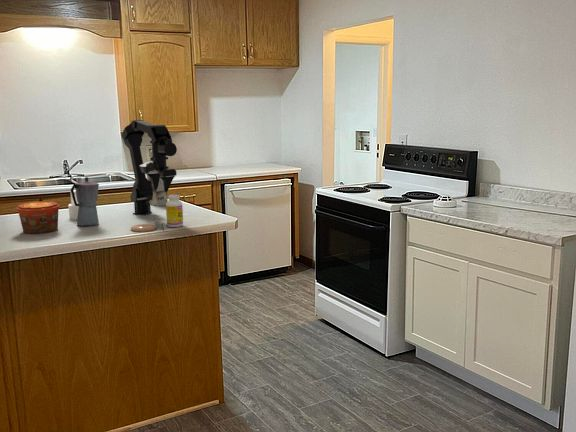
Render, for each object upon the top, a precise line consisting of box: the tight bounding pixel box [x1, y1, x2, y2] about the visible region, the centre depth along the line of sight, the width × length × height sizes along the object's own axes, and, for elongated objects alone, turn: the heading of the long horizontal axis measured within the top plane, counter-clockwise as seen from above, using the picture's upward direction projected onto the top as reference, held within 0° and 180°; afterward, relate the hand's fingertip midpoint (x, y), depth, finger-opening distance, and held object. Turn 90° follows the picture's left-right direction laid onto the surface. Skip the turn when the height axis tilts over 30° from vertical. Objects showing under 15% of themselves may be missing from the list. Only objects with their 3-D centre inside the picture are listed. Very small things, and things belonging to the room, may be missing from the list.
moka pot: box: [70, 177, 100, 227], centre depth 236 cm, size 10×15×20 cm, turn 161°
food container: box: [15, 201, 61, 235], centre depth 226 cm, size 16×16×11 cm
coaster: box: [130, 223, 157, 233], centre depth 228 cm, size 10×10×1 cm
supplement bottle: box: [165, 194, 184, 228], centre depth 233 cm, size 7×7×13 cm
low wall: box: [155, 218, 164, 231], centre depth 231 cm, size 10×1×2 cm, turn 26°
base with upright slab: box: [68, 189, 79, 220], centre depth 252 cm, size 9×9×12 cm
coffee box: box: [146, 175, 169, 207], centre depth 283 cm, size 9×6×16 cm
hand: (160, 190), depth 244 cm, fingers open, 9 cm apart
